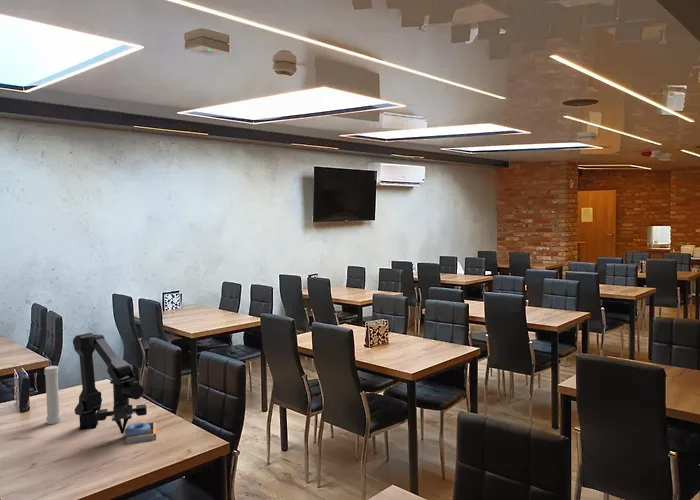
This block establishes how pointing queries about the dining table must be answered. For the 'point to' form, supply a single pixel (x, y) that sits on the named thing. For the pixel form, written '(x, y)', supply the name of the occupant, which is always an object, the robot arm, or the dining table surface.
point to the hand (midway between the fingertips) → (122, 433)
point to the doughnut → (137, 429)
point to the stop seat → (143, 437)
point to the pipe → (52, 394)
